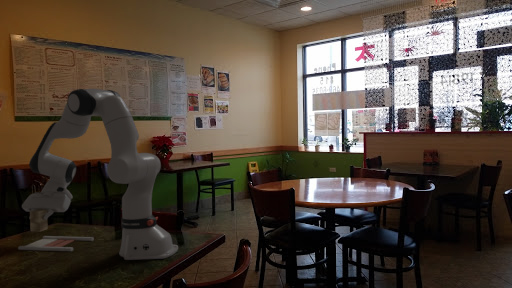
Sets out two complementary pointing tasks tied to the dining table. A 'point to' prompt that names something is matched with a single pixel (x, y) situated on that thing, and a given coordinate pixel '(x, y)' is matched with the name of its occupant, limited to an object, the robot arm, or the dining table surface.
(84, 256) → the dining table surface
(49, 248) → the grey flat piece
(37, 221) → the maple block
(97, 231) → the dining table surface
